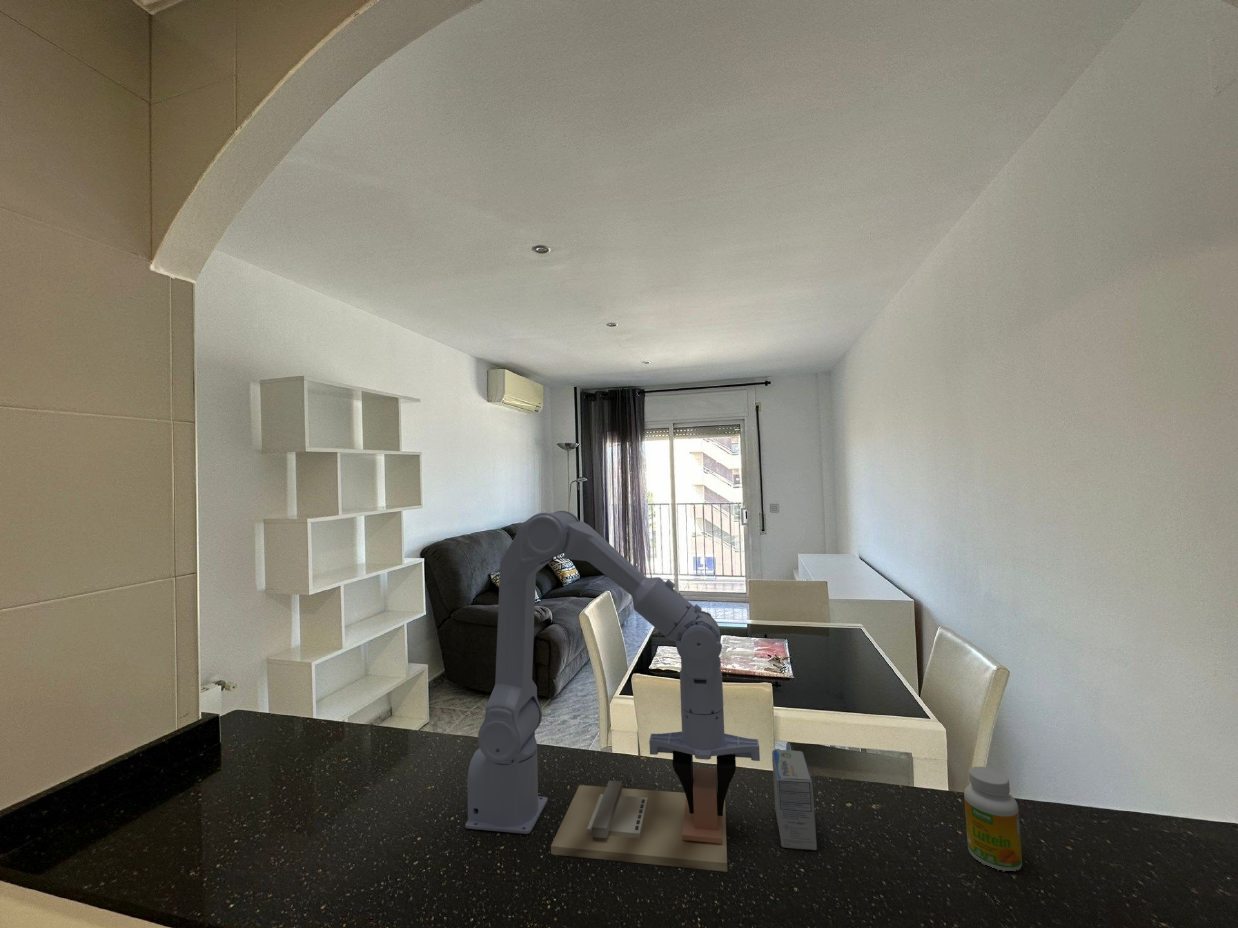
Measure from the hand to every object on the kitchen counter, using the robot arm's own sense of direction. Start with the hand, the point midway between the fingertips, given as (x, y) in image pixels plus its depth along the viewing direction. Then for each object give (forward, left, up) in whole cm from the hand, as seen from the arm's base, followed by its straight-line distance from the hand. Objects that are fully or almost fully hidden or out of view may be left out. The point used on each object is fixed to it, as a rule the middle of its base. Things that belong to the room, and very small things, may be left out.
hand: (706, 810), depth 69 cm
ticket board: (-9, 0, -3) cm, 9 cm away
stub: (0, 0, -1) cm, 2 cm away
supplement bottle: (+34, 0, -3) cm, 35 cm away
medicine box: (+11, +2, -3) cm, 12 cm away
